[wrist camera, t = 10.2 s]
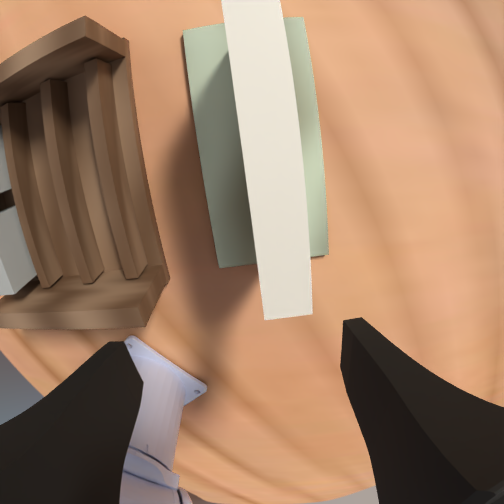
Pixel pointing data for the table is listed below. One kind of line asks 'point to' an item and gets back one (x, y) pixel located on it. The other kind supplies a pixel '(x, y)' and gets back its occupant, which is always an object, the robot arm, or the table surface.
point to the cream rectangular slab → (271, 153)
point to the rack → (124, 172)
